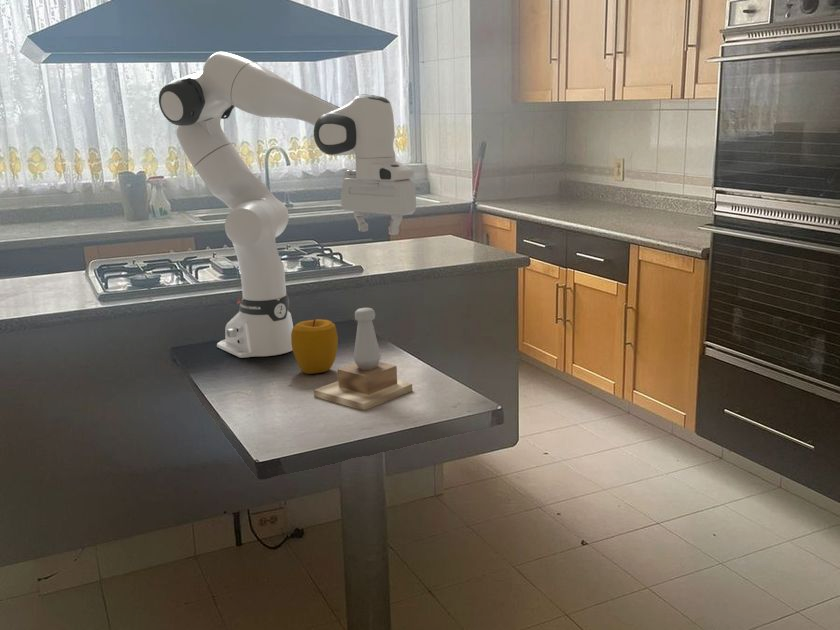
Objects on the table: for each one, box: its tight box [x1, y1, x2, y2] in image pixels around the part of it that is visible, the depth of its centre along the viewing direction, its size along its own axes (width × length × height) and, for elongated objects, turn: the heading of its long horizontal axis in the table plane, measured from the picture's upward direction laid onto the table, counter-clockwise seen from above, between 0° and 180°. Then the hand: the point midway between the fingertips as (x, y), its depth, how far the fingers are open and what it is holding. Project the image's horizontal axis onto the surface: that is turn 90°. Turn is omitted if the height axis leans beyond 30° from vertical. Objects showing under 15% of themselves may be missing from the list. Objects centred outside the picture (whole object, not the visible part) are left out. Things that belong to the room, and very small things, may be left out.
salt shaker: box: [353, 307, 382, 370], centre depth 173 cm, size 6×6×13 cm
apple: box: [291, 318, 339, 375], centre depth 190 cm, size 11×11×13 cm
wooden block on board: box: [313, 361, 413, 411], centre depth 174 cm, size 15×15×6 cm
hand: (378, 232), depth 182 cm, fingers open, 8 cm apart
